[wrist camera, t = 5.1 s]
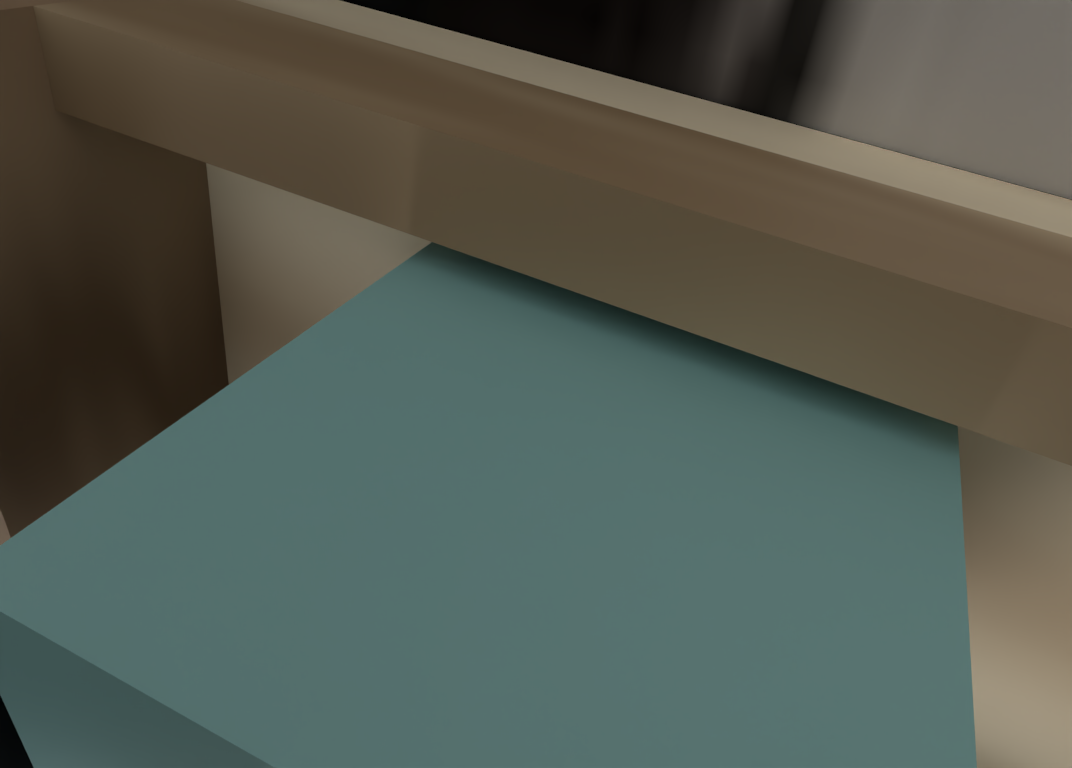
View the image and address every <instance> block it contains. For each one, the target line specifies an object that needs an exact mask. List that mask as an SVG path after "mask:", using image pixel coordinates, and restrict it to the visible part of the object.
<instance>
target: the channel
mask: <svg viewBox="0 0 1072 768" xmlns="http://www.w3.org/2000/svg"><path fill="white" fill-rule="evenodd" d="M431 242H433V243H436V244H439V245H442V246H445V247H448V248H451V249H453V250H456V251H459V252H462V253H465V254H468V255H471V256H473V257H476V258H479V259H482V260H485V261H488V262H491V263H493V264H496V265H499V266H502V267H505V268H508V269H511V270H513V271H516V272H519V273H522V274H525V275H528V276H531V277H533V278H536V279H539V280H542V281H545V282H548V283H551V284H553V285H556V286H559V287H562V288H565V289H568V290H571V291H573V292H576V293H579V294H582V295H585V296H588V297H591V298H593V299H596V300H599V301H602V302H605V303H608V304H611V305H613V306H616V307H619V308H622V309H625V310H628V311H631V312H633V313H636V314H639V315H642V316H645V317H648V318H651V319H653V320H656V321H659V322H662V323H665V324H668V325H670V326H673V327H676V328H679V329H682V330H685V331H688V332H690V333H693V334H696V335H699V336H702V337H705V338H708V339H710V340H713V341H716V342H719V343H722V344H725V345H728V346H730V347H733V348H736V349H739V350H742V351H745V352H748V353H750V354H753V355H756V356H759V357H762V358H765V359H768V360H770V361H773V362H776V363H779V364H782V365H785V366H788V367H790V368H793V369H796V370H799V371H802V372H805V373H808V374H810V375H813V376H816V377H819V378H822V379H825V380H828V381H830V382H833V383H836V384H839V385H842V386H845V387H848V388H850V389H853V390H856V391H859V392H862V393H865V394H868V395H870V396H873V397H876V398H879V399H882V400H885V401H888V402H890V403H893V404H896V405H899V406H902V407H905V408H908V409H910V410H913V411H916V412H919V413H922V414H925V415H928V416H930V417H933V418H936V419H939V420H942V421H945V422H948V423H950V424H953V425H956V426H958V439H959V457H960V475H961V493H962V511H963V529H964V547H965V564H966V582H967V600H968V618H969V636H970V654H971V672H972V690H973V708H974V725H975V743H976V761H977V768H1072V200H1070V199H1066V198H1062V197H1059V196H1055V195H1051V194H1048V193H1044V192H1040V191H1037V190H1033V189H1029V188H1026V187H1022V186H1018V185H1015V184H1011V183H1007V182H1004V181H1000V180H996V179H993V178H989V177H985V176H982V175H978V174H974V173H971V172H967V171H963V170H960V169H956V168H952V167H949V166H945V165H941V164H938V163H934V162H930V161H927V160H923V159H919V158H916V157H912V156H908V155H905V154H901V153H897V152H894V151H890V150H886V149H883V148H879V147H875V146H872V145H868V144H864V143H861V142H857V141H853V140H850V139H846V138H842V137H839V136H835V135H832V134H828V133H824V132H821V131H817V130H813V129H810V128H806V127H802V126H799V125H795V124H791V123H788V122H784V121H780V120H777V119H773V118H769V117H766V116H762V115H758V114H755V113H751V112H747V111H744V110H740V109H736V108H733V107H729V106H725V105H722V104H718V103H714V102H711V101H707V100H703V99H700V98H696V97H692V96H689V95H685V94H681V93H678V92H674V91H670V90H667V89H663V88H659V87H656V86H652V85H648V84H645V83H641V82H637V81H634V80H630V79H626V78H623V77H619V76H615V75H612V74H608V73H604V72H601V71H597V70H593V69H590V68H586V67H582V66H579V65H575V64H571V63H568V62H564V61H560V60H557V59H553V58H549V57H546V56H542V55H538V54H535V53H531V52H527V51H524V50H520V49H516V48H513V47H509V46H506V45H502V44H498V43H495V42H491V41H487V40H484V39H480V38H476V37H473V36H469V35H465V34H462V33H458V32H454V31H451V30H447V29H443V28H440V27H436V26H432V25H429V24H425V23H421V22H418V21H414V20H410V19H407V18H403V17H399V16H396V15H392V14H388V13H385V12H381V11H377V10H374V9H370V8H366V7H363V6H359V5H355V4H352V3H348V2H344V1H341V0H0V545H2V544H3V543H4V542H6V541H7V540H9V539H10V538H12V537H13V536H14V535H16V534H17V533H19V532H20V531H22V530H23V529H24V528H26V527H27V526H29V525H30V524H31V523H33V522H34V521H36V520H37V519H39V518H40V517H41V516H43V515H44V514H46V513H47V512H49V511H50V510H51V509H53V508H54V507H56V506H57V505H58V504H60V503H61V502H63V501H64V500H66V499H67V498H68V497H70V496H71V495H73V494H74V493H76V492H77V491H78V490H80V489H81V488H83V487H84V486H86V485H87V484H88V483H90V482H91V481H93V480H94V479H95V478H97V477H98V476H100V475H101V474H103V473H104V472H105V471H107V470H108V469H110V468H111V467H113V466H114V465H115V464H117V463H118V462H120V461H121V460H123V459H124V458H125V457H127V456H128V455H130V454H131V453H132V452H134V451H135V450H137V449H138V448H140V447H141V446H142V445H144V444H145V443H147V442H148V441H150V440H151V439H152V438H154V437H155V436H157V435H158V434H160V433H161V432H162V431H164V430H165V429H167V428H168V427H169V426H171V425H172V424H174V423H175V422H177V421H178V420H179V419H181V418H182V417H184V416H185V415H187V414H188V413H189V412H191V411H192V410H194V409H195V408H197V407H198V406H199V405H201V404H202V403H204V402H205V401H206V400H208V399H209V398H211V397H212V396H214V395H215V394H216V393H218V392H219V391H221V390H222V389H224V388H225V387H226V386H228V385H229V384H231V383H232V382H234V381H235V380H236V379H238V378H239V377H241V376H242V375H243V374H245V373H246V372H248V371H249V370H251V369H252V368H253V367H255V366H256V365H258V364H259V363H261V362H262V361H263V360H265V359H266V358H268V357H269V356H271V355H272V354H273V353H275V352H276V351H278V350H279V349H280V348H282V347H283V346H285V345H286V344H288V343H289V342H290V341H292V340H293V339H295V338H296V337H298V336H299V335H300V334H302V333H303V332H305V331H306V330H308V329H309V328H310V327H312V326H313V325H315V324H316V323H317V322H319V321H320V320H322V319H323V318H325V317H326V316H327V315H329V314H330V313H332V312H333V311H335V310H336V309H337V308H339V307H340V306H342V305H343V304H345V303H346V302H347V301H349V300H350V299H352V298H353V297H354V296H356V295H357V294H359V293H360V292H362V291H363V290H364V289H366V288H367V287H369V286H370V285H372V284H373V283H374V282H376V281H377V280H379V279H380V278H382V277H383V276H384V275H386V274H387V273H389V272H390V271H391V270H393V269H394V268H396V267H397V266H399V265H400V264H401V263H403V262H404V261H406V260H407V259H409V258H410V257H411V256H413V255H414V254H416V253H417V252H419V251H420V250H421V249H423V248H424V247H426V246H427V245H428V244H430V243H431Z"/></svg>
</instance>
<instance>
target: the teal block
mask: <svg viewBox="0 0 1072 768" xmlns="http://www.w3.org/2000/svg"><path fill="white" fill-rule="evenodd" d="M0 695H1V698H2V700H3V702H4V704H5V706H6V709H7V711H8V713H9V715H10V717H11V719H12V722H13V724H14V726H15V728H16V730H17V732H18V735H19V737H20V739H21V741H22V743H23V746H24V748H25V750H26V752H27V754H28V756H29V759H30V761H31V763H32V765H33V767H34V768H977V761H976V743H975V725H974V708H973V690H972V672H971V654H970V636H969V618H968V600H967V582H966V564H965V547H964V529H963V511H962V493H961V475H960V457H959V439H958V426H956V425H953V424H950V423H948V422H945V421H942V420H939V419H936V418H933V417H930V416H928V415H925V414H922V413H919V412H916V411H913V410H910V409H908V408H905V407H902V406H899V405H896V404H893V403H890V402H888V401H885V400H882V399H879V398H876V397H873V396H870V395H868V394H865V393H862V392H859V391H856V390H853V389H850V388H848V387H845V386H842V385H839V384H836V383H833V382H830V381H828V380H825V379H822V378H819V377H816V376H813V375H810V374H808V373H805V372H802V371H799V370H796V369H793V368H790V367H788V366H785V365H782V364H779V363H776V362H773V361H770V360H768V359H765V358H762V357H759V356H756V355H753V354H750V353H748V352H745V351H742V350H739V349H736V348H733V347H730V346H728V345H725V344H722V343H719V342H716V341H713V340H710V339H708V338H705V337H702V336H699V335H696V334H693V333H690V332H688V331H685V330H682V329H679V328H676V327H673V326H670V325H668V324H665V323H662V322H659V321H656V320H653V319H651V318H648V317H645V316H642V315H639V314H636V313H633V312H631V311H628V310H625V309H622V308H619V307H616V306H613V305H611V304H608V303H605V302H602V301H599V300H596V299H593V298H591V297H588V296H585V295H582V294H579V293H576V292H573V291H571V290H568V289H565V288H562V287H559V286H556V285H553V284H551V283H548V282H545V281H542V280H539V279H536V278H533V277H531V276H528V275H525V274H522V273H519V272H516V271H513V270H511V269H508V268H505V267H502V266H499V265H496V264H493V263H491V262H488V261H485V260H482V259H479V258H476V257H473V256H471V255H468V254H465V253H462V252H459V251H456V250H453V249H451V248H448V247H445V246H442V245H439V244H436V243H433V242H431V243H430V244H428V245H427V246H426V247H424V248H423V249H421V250H420V251H419V252H417V253H416V254H414V255H413V256H411V257H410V258H409V259H407V260H406V261H404V262H403V263H401V264H400V265H399V266H397V267H396V268H394V269H393V270H391V271H390V272H389V273H387V274H386V275H384V276H383V277H382V278H380V279H379V280H377V281H376V282H374V283H373V284H372V285H370V286H369V287H367V288H366V289H364V290H363V291H362V292H360V293H359V294H357V295H356V296H354V297H353V298H352V299H350V300H349V301H347V302H346V303H345V304H343V305H342V306H340V307H339V308H337V309H336V310H335V311H333V312H332V313H330V314H329V315H327V316H326V317H325V318H323V319H322V320H320V321H319V322H317V323H316V324H315V325H313V326H312V327H310V328H309V329H308V330H306V331H305V332H303V333H302V334H300V335H299V336H298V337H296V338H295V339H293V340H292V341H290V342H289V343H288V344H286V345H285V346H283V347H282V348H280V349H279V350H278V351H276V352H275V353H273V354H272V355H271V356H269V357H268V358H266V359H265V360H263V361H262V362H261V363H259V364H258V365H256V366H255V367H253V368H252V369H251V370H249V371H248V372H246V373H245V374H243V375H242V376H241V377H239V378H238V379H236V380H235V381H234V382H232V383H231V384H229V385H228V386H226V387H225V388H224V389H222V390H221V391H219V392H218V393H216V394H215V395H214V396H212V397H211V398H209V399H208V400H206V401H205V402H204V403H202V404H201V405H199V406H198V407H197V408H195V409H194V410H192V411H191V412H189V413H188V414H187V415H185V416H184V417H182V418H181V419H179V420H178V421H177V422H175V423H174V424H172V425H171V426H169V427H168V428H167V429H165V430H164V431H162V432H161V433H160V434H158V435H157V436H155V437H154V438H152V439H151V440H150V441H148V442H147V443H145V444H144V445H142V446H141V447H140V448H138V449H137V450H135V451H134V452H132V453H131V454H130V455H128V456H127V457H125V458H124V459H123V460H121V461H120V462H118V463H117V464H115V465H114V466H113V467H111V468H110V469H108V470H107V471H105V472H104V473H103V474H101V475H100V476H98V477H97V478H95V479H94V480H93V481H91V482H90V483H88V484H87V485H86V486H84V487H83V488H81V489H80V490H78V491H77V492H76V493H74V494H73V495H71V496H70V497H68V498H67V499H66V500H64V501H63V502H61V503H60V504H58V505H57V506H56V507H54V508H53V509H51V510H50V511H49V512H47V513H46V514H44V515H43V516H41V517H40V518H39V519H37V520H36V521H34V522H33V523H31V524H30V525H29V526H27V527H26V528H24V529H23V530H22V531H20V532H19V533H17V534H16V535H14V536H13V537H12V538H10V539H9V540H7V541H6V542H4V543H3V544H2V545H0Z"/></svg>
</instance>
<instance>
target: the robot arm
mask: <svg viewBox="0 0 1072 768" xmlns="http://www.w3.org/2000/svg"><path fill="white" fill-rule="evenodd" d="M0 768H34V767H33V765H32V763H31V761H30V759H29V756H28V754H27V752H26V750H25V748H24V746H23V743H22V741H21V739H20V737H19V735H18V732H17V730H16V728H15V726H14V724H13V722H12V719H11V717H10V715H9V713H8V711H7V709H6V706H5V704H4V702H3V700H2V698H1V695H0Z"/></svg>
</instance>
